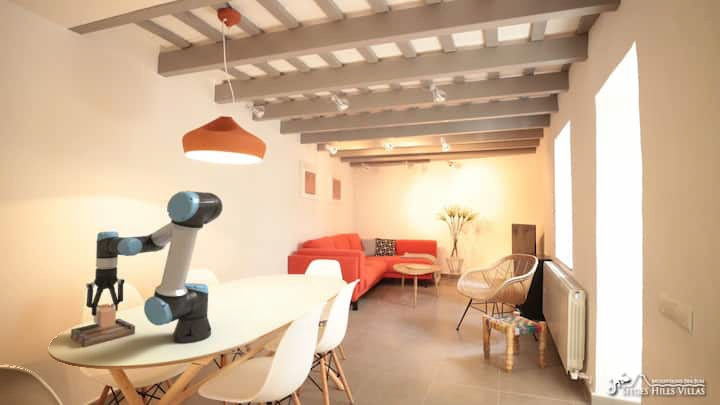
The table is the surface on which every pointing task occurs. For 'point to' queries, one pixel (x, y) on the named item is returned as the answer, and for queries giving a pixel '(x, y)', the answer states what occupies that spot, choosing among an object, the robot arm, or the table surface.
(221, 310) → the table surface
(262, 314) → the table surface
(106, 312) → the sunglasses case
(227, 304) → the table surface
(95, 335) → the wooden tray
